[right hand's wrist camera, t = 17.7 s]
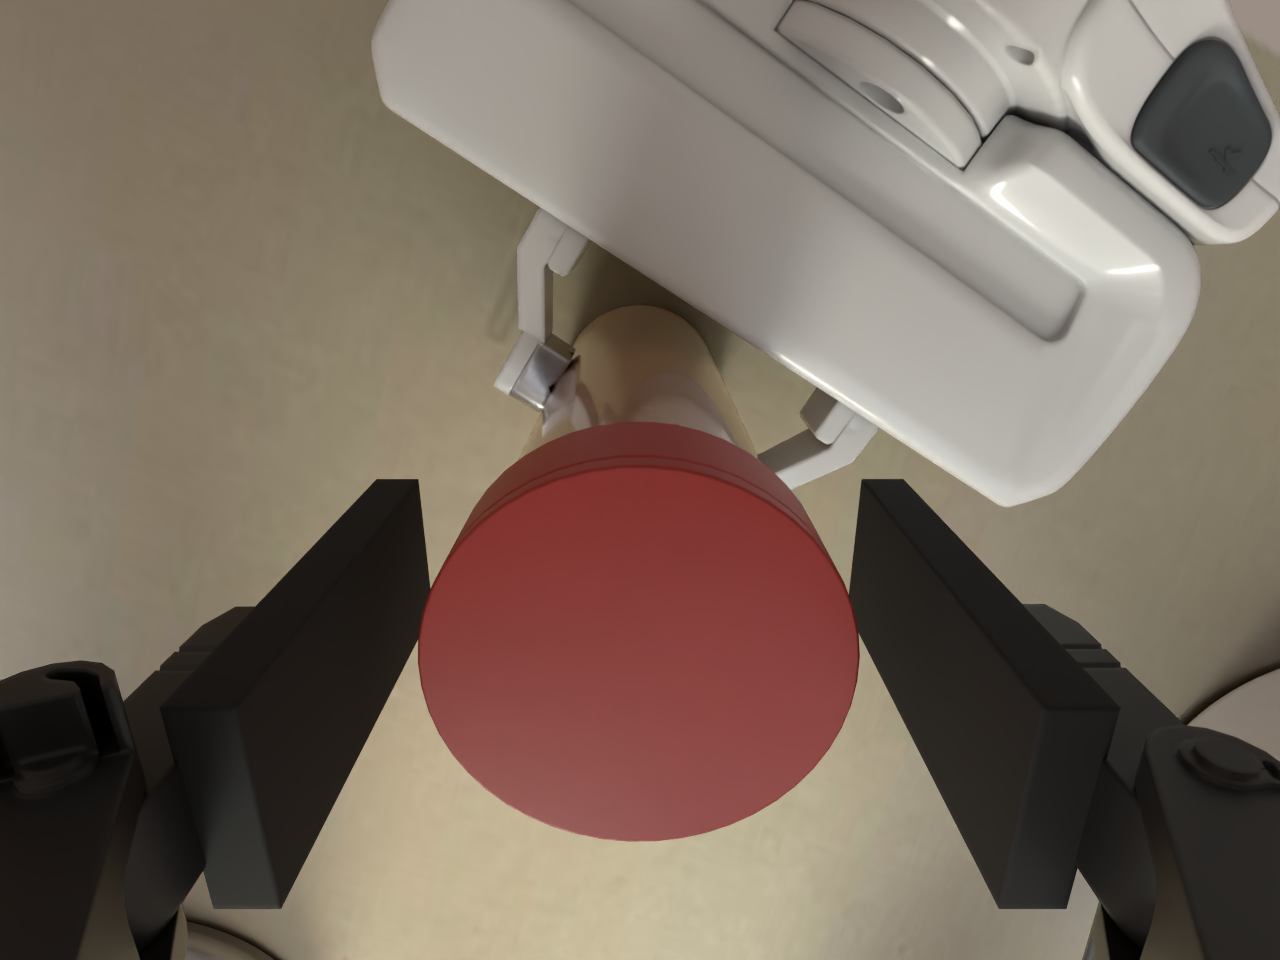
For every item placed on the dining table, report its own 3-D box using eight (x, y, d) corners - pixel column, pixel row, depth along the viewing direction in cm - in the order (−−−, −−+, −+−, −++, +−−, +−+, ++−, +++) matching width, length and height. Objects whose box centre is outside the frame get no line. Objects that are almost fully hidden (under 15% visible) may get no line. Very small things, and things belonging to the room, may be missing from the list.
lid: (688, 801, 14) (696, 899, 12) (388, 646, 12) (343, 727, 10) (902, 549, 12) (953, 616, 10) (575, 341, 11) (562, 371, 9)
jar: (535, 357, 27) (373, 596, 10) (664, 274, 26) (705, 395, 9) (617, 478, 28) (586, 846, 12) (741, 403, 27) (890, 697, 11)
